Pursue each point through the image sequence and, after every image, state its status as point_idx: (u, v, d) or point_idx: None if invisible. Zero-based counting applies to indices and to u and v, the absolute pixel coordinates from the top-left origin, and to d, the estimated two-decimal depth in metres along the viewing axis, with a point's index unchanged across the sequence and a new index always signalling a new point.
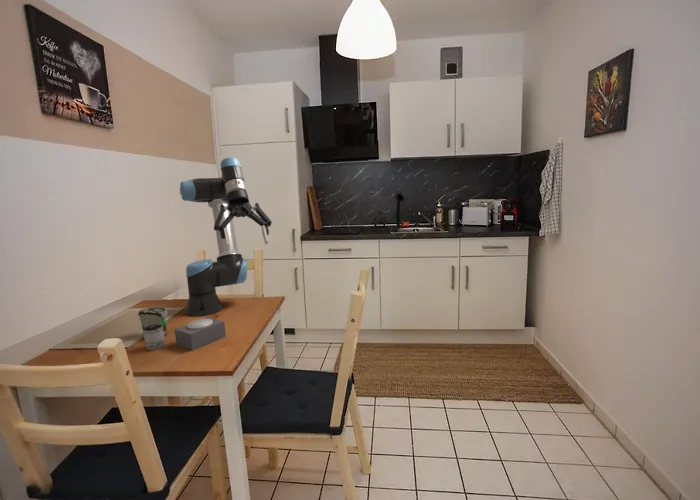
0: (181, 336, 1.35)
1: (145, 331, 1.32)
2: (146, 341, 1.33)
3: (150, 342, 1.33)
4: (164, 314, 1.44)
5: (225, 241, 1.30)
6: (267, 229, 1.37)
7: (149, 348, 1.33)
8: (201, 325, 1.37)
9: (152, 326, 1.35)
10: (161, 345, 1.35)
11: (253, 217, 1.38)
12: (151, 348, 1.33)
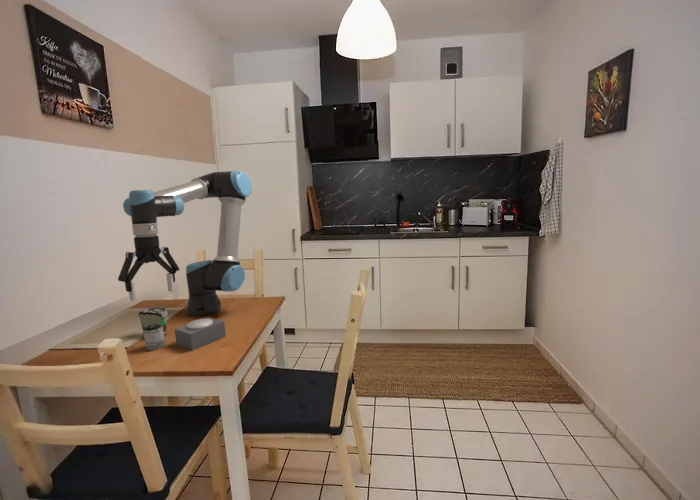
0: (181, 336, 1.35)
1: (145, 331, 1.32)
2: (146, 341, 1.33)
3: (150, 342, 1.33)
4: (164, 314, 1.44)
5: (130, 294, 1.26)
6: (173, 277, 1.38)
7: (149, 348, 1.33)
8: (201, 325, 1.37)
9: (152, 326, 1.35)
10: (161, 345, 1.35)
11: (161, 264, 1.34)
12: (151, 348, 1.33)
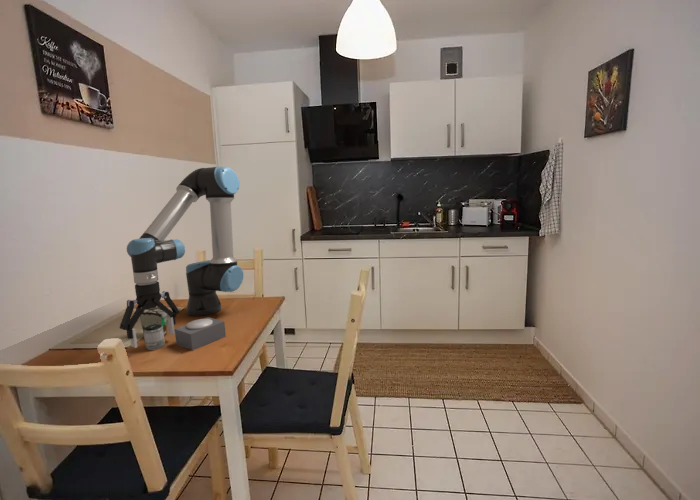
0: (181, 336, 1.35)
1: (145, 331, 1.32)
2: (146, 341, 1.33)
3: (150, 342, 1.33)
4: (164, 314, 1.44)
5: (132, 341, 1.29)
6: (174, 320, 1.41)
7: (149, 348, 1.33)
8: (201, 325, 1.37)
9: (152, 326, 1.35)
10: (161, 345, 1.35)
11: (162, 308, 1.37)
12: (151, 348, 1.33)
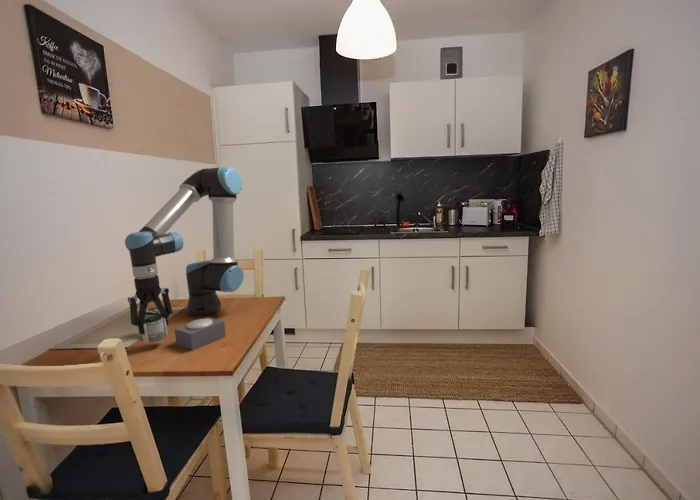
0: (181, 336, 1.35)
1: (145, 323, 1.32)
2: None
3: (150, 334, 1.33)
4: None
5: (143, 336, 1.33)
6: (167, 320, 1.39)
7: (149, 340, 1.33)
8: (201, 325, 1.37)
9: (152, 318, 1.35)
10: (161, 337, 1.35)
11: (157, 305, 1.36)
12: (151, 340, 1.33)
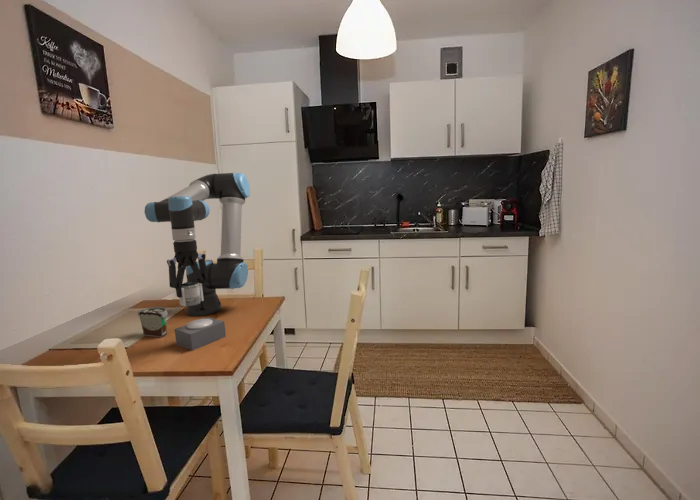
0: (181, 336, 1.35)
1: (182, 286, 1.34)
2: None
3: (187, 298, 1.34)
4: (164, 314, 1.44)
5: (180, 300, 1.34)
6: (203, 286, 1.40)
7: (186, 304, 1.34)
8: (201, 325, 1.37)
9: (189, 282, 1.36)
10: (198, 301, 1.36)
11: (194, 270, 1.37)
12: (188, 304, 1.34)
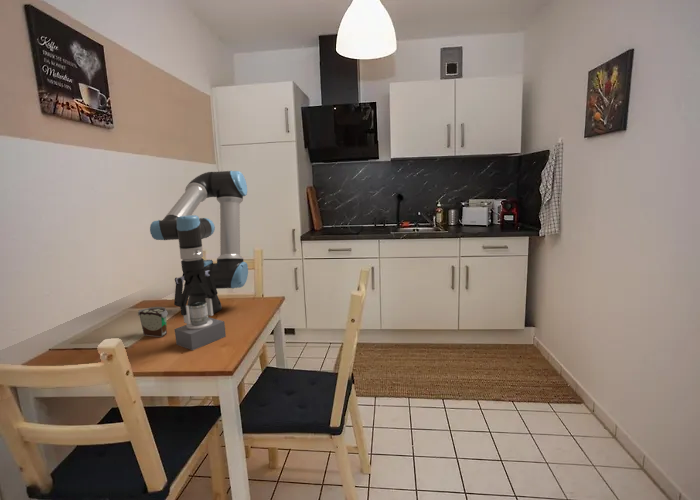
0: (181, 336, 1.35)
1: (191, 307, 1.35)
2: (191, 317, 1.36)
3: (195, 318, 1.36)
4: (164, 314, 1.44)
5: (185, 317, 1.35)
6: (212, 301, 1.42)
7: (194, 324, 1.36)
8: (201, 325, 1.37)
9: (197, 302, 1.38)
10: (205, 321, 1.38)
11: (203, 287, 1.39)
12: (196, 323, 1.36)
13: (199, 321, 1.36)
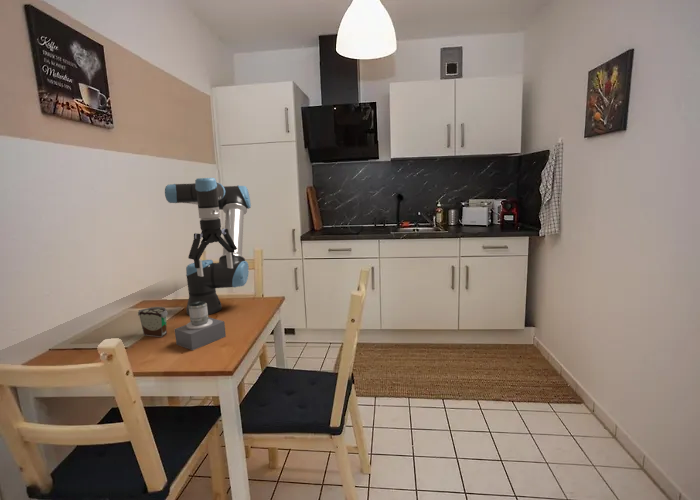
0: (181, 336, 1.35)
1: (191, 307, 1.35)
2: (191, 317, 1.36)
3: (195, 318, 1.36)
4: (164, 314, 1.44)
5: (198, 270, 1.44)
6: (232, 255, 1.54)
7: (194, 323, 1.36)
8: (201, 325, 1.37)
9: (197, 302, 1.38)
10: (205, 321, 1.38)
11: (222, 243, 1.50)
12: (196, 323, 1.36)
13: (199, 321, 1.36)
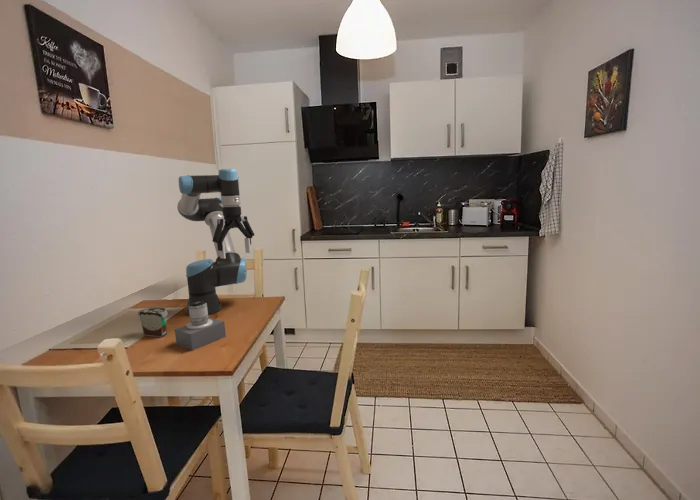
0: (181, 336, 1.35)
1: (191, 307, 1.35)
2: (191, 317, 1.36)
3: (195, 318, 1.36)
4: (164, 314, 1.44)
5: (221, 253, 1.57)
6: (250, 241, 1.68)
7: (194, 324, 1.36)
8: (201, 325, 1.37)
9: (197, 302, 1.38)
10: (205, 321, 1.38)
11: (241, 229, 1.64)
12: (196, 323, 1.36)
13: (199, 321, 1.36)
